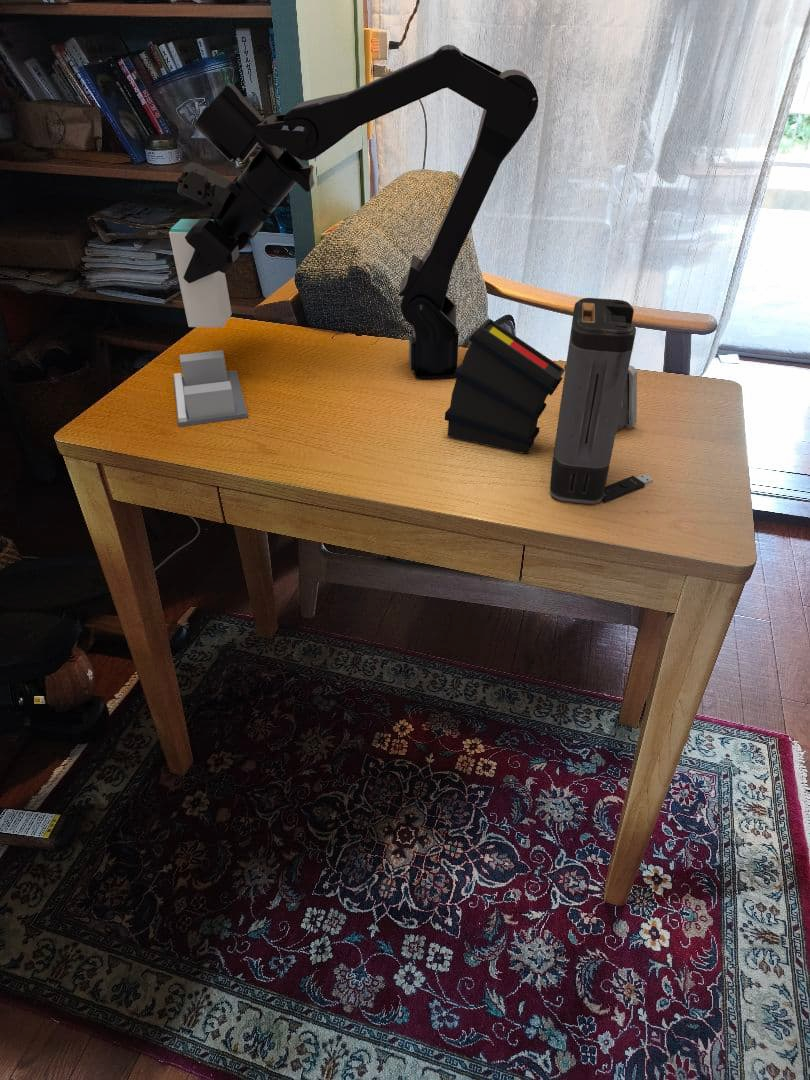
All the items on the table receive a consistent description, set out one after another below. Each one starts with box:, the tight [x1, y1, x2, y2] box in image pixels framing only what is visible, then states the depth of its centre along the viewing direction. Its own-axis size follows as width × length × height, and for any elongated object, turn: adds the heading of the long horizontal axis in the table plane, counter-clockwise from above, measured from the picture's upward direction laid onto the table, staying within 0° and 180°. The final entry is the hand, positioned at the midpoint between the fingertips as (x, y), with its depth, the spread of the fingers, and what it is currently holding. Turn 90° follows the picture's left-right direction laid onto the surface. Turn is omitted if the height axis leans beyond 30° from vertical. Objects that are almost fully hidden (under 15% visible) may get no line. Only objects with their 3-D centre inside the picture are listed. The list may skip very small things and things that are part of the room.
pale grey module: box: [168, 218, 233, 328], centre depth 102 cm, size 5×5×13 cm
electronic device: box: [549, 297, 637, 505], centre depth 79 cm, size 9×6×20 cm, turn 168°
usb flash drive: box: [600, 473, 654, 504], centre depth 84 cm, size 8×2×1 cm, turn 121°
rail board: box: [173, 349, 249, 428], centre depth 100 cm, size 9×14×4 cm, turn 16°
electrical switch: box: [563, 364, 638, 432], centre depth 94 cm, size 9×5×9 cm, turn 38°
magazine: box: [444, 318, 565, 454], centre depth 89 cm, size 4×13×15 cm, turn 66°
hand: (192, 274), depth 103 cm, fingers closed on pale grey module, 5 cm apart
